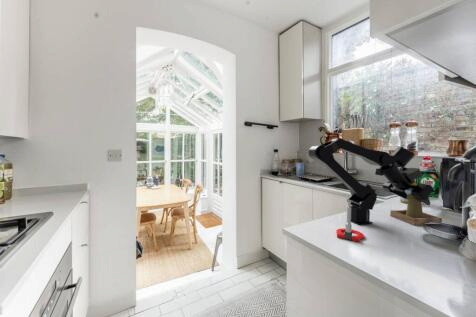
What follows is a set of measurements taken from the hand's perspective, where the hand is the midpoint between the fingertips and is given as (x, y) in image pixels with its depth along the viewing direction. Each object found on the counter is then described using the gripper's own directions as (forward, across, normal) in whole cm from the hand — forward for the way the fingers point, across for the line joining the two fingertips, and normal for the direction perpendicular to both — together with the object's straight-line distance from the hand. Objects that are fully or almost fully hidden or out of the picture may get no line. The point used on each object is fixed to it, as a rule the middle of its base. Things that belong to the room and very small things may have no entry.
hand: (418, 201), depth 86 cm
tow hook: (-21, -12, +32) cm, 40 cm away
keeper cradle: (+4, 0, +6) cm, 8 cm away
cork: (+5, 0, +7) cm, 8 cm away
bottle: (+20, +26, -9) cm, 35 cm away
